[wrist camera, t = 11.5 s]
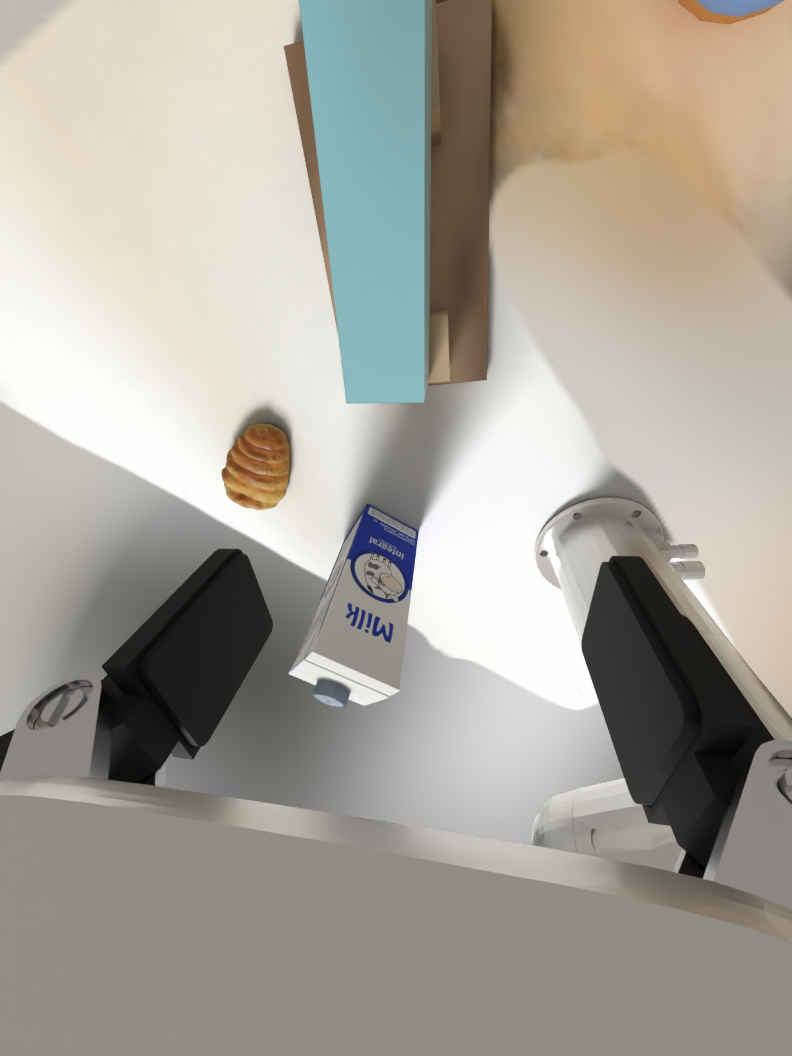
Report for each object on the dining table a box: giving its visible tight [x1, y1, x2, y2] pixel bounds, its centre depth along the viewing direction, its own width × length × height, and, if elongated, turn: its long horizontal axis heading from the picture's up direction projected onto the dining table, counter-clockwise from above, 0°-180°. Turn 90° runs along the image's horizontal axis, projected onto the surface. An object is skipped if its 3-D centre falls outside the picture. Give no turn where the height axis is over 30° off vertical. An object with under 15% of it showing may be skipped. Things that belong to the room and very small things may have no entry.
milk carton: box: [289, 504, 418, 708], centre depth 35 cm, size 7×7×20 cm
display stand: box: [284, 0, 492, 386], centre depth 24 cm, size 12×20×8 cm, turn 7°
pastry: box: [222, 423, 290, 510], centre depth 38 cm, size 9×7×4 cm
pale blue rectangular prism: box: [299, 0, 432, 404], centre depth 19 cm, size 4×16×6 cm, turn 3°
